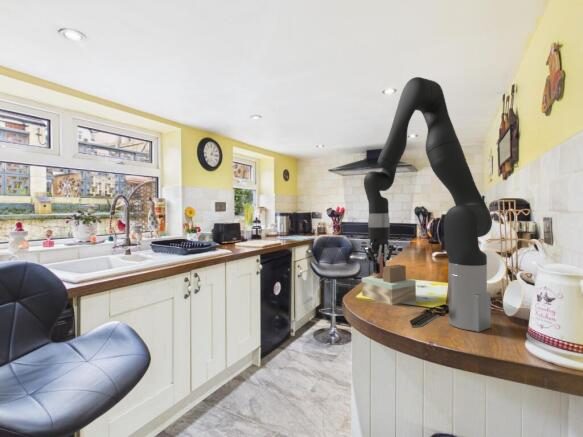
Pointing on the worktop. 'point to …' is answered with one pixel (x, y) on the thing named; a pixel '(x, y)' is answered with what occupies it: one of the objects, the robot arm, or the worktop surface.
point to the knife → (429, 315)
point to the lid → (391, 278)
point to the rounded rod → (380, 268)
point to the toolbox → (389, 293)
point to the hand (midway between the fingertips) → (379, 272)
